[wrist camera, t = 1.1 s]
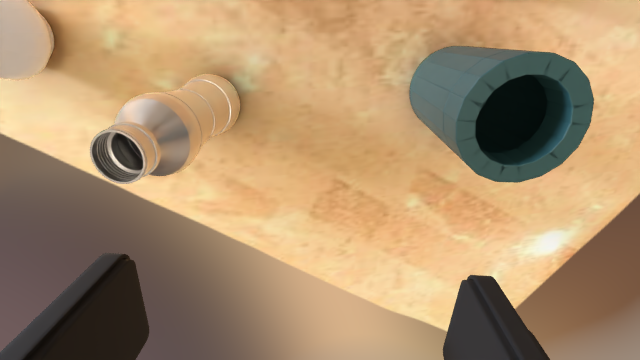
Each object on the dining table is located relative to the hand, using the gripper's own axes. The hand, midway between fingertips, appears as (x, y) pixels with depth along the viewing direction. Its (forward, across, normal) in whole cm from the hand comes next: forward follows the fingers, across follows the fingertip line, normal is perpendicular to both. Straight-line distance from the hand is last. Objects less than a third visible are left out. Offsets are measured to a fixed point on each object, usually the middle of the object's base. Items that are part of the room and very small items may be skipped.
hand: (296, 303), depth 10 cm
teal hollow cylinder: (+32, -14, -2) cm, 35 cm away
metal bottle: (+32, +13, +1) cm, 35 cm away
